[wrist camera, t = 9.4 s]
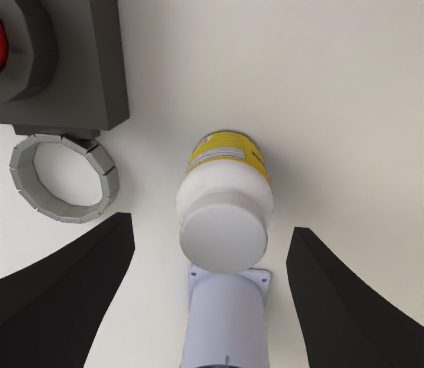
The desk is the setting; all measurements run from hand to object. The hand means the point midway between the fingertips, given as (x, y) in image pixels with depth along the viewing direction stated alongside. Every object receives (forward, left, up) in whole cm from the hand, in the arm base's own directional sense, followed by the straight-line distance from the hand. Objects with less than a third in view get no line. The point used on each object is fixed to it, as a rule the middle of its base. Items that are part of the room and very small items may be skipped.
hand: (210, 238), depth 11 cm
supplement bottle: (0, 0, -10) cm, 10 cm away
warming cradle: (-2, +12, -10) cm, 16 cm away
